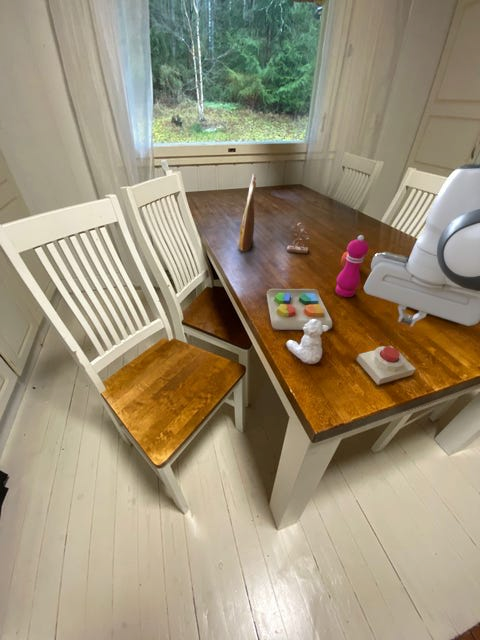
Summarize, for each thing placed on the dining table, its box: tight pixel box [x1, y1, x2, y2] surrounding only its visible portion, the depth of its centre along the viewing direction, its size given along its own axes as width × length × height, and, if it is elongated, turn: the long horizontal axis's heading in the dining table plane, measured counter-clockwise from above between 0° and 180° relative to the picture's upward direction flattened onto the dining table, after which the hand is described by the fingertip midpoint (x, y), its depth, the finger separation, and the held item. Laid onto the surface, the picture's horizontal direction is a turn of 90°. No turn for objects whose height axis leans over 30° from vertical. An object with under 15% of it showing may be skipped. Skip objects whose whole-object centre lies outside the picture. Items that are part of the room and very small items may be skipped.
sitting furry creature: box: [285, 319, 329, 365], centre depth 66 cm, size 10×9×12 cm
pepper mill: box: [335, 234, 370, 298], centre depth 87 cm, size 7×7×20 cm
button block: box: [356, 345, 417, 386], centre depth 66 cm, size 10×8×4 cm
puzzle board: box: [266, 288, 333, 331], centre depth 83 cm, size 18×19×4 cm
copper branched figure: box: [286, 222, 310, 254], centre depth 115 cm, size 9×4×12 cm, turn 77°
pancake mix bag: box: [238, 172, 257, 253], centre depth 114 cm, size 7×19×28 cm, turn 170°
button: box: [381, 346, 401, 363], centre depth 64 cm, size 4×4×2 cm
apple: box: [340, 250, 365, 269], centre depth 104 cm, size 8×8×8 cm
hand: (405, 323), depth 58 cm, fingers closed
